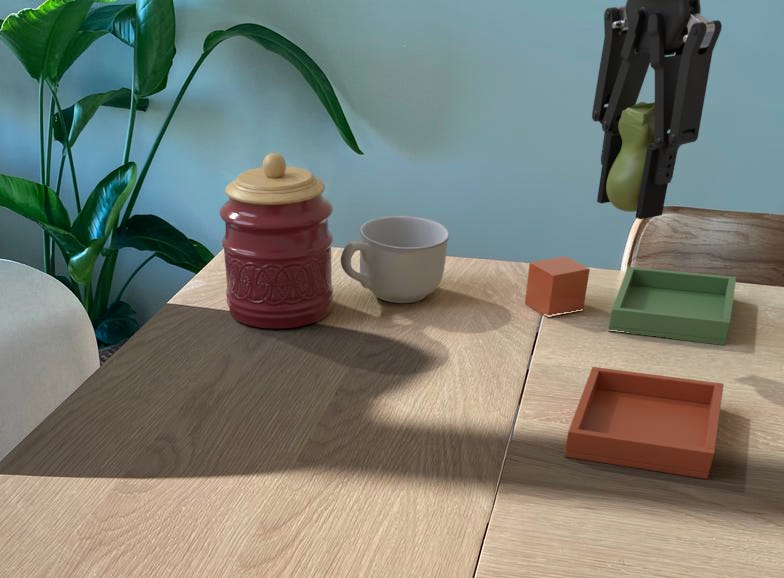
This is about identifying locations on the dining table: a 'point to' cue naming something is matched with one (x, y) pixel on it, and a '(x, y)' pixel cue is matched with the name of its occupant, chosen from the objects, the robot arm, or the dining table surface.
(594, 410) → the terracotta tray
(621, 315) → the green tray
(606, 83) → the robot arm
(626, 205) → the pear
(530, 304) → the block
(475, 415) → the dining table surface
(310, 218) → the kitchen canister
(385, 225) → the teacup
